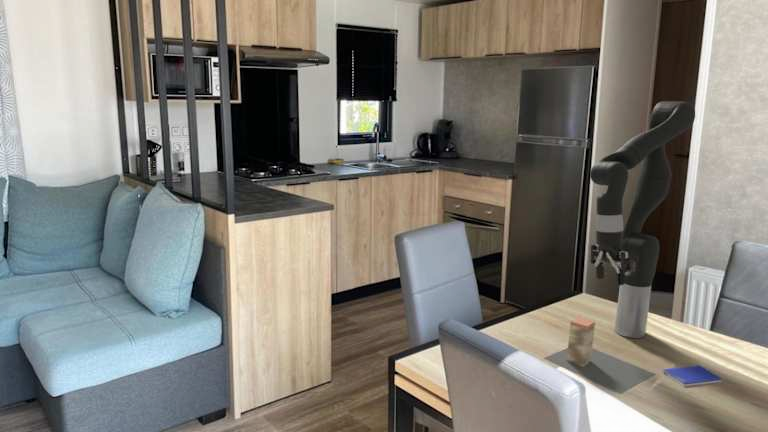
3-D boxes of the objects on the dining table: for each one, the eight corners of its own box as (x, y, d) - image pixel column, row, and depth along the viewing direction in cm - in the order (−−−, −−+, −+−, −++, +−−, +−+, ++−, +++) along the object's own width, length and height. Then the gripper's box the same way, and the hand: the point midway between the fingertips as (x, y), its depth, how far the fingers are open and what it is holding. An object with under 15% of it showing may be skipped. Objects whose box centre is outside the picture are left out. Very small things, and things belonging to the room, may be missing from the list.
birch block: (566, 360, 162) (570, 321, 160) (574, 355, 166) (578, 316, 163) (583, 366, 159) (587, 326, 156) (590, 361, 163) (595, 321, 160)
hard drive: (684, 383, 151) (722, 378, 154) (662, 368, 158) (698, 364, 161) (683, 388, 151) (721, 383, 154) (661, 373, 159) (697, 369, 162)
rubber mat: (579, 344, 175) (579, 343, 174) (655, 376, 156) (655, 374, 156) (543, 360, 164) (543, 358, 164) (620, 395, 145) (620, 393, 145)
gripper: (637, 230, 162) (637, 285, 164) (603, 224, 175) (603, 274, 178) (616, 233, 160) (617, 289, 162) (583, 227, 173) (584, 278, 175)
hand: (610, 281), depth 170 cm, fingers open, 8 cm apart
